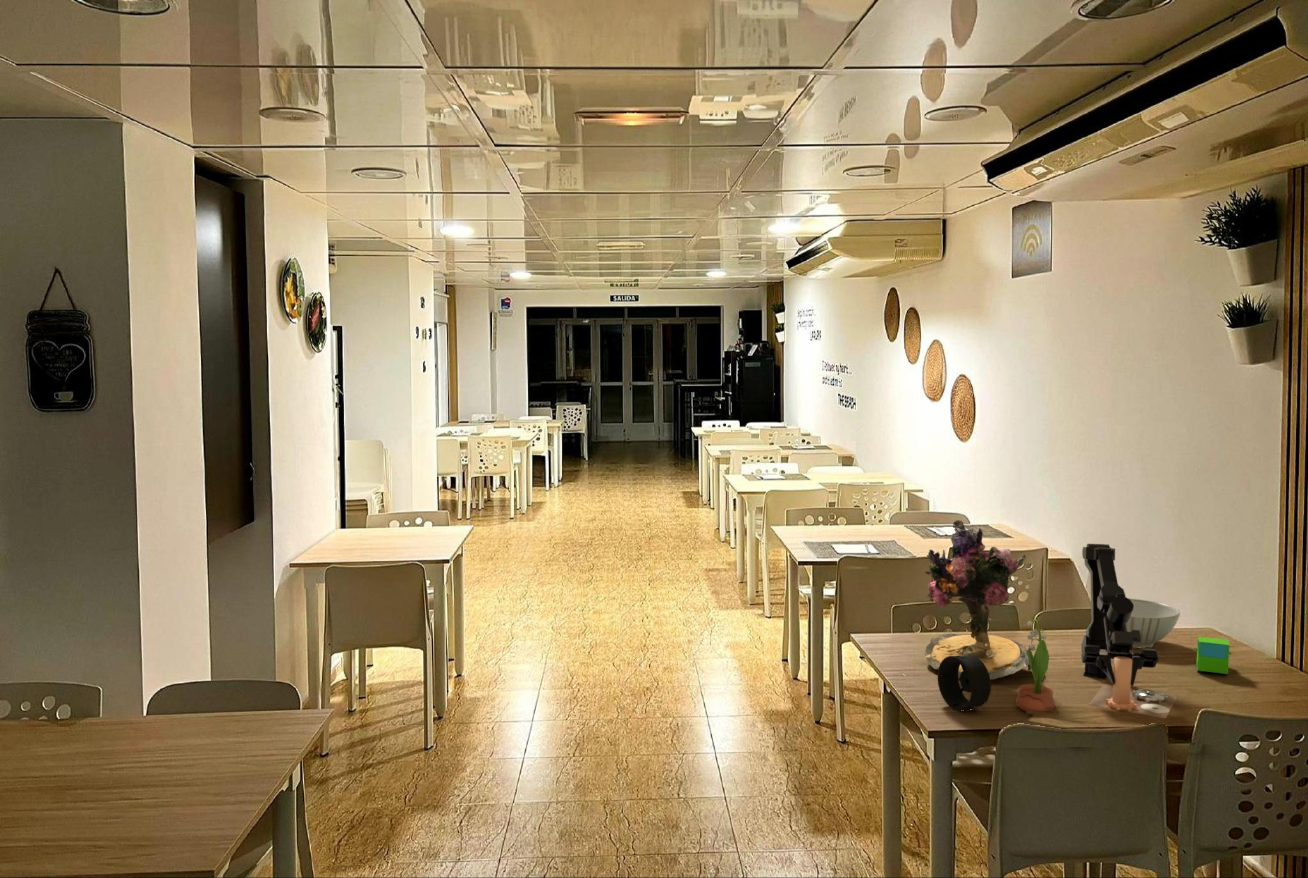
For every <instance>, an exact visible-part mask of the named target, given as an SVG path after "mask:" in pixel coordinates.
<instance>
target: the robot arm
mask: <svg viewBox="0 0 1308 878" xmlns="http://www.w3.org/2000/svg"><path fill="white" fill-rule="evenodd" d="M1081 554H1082V559H1083V560H1084V566H1085V567H1086V569H1087V570H1088V572H1089V573H1090V613H1091V614H1090V615H1091V616H1090V617H1091V618H1090V623H1089V625H1088V626H1087V627H1086V630H1085V634H1084V636H1083V639H1082V642H1081V644H1080V645H1081V662H1082V663H1083V664H1084V672H1083V674H1082V675H1083V676H1085V677H1092V678H1098V679H1103V680H1106V679H1107V678H1108V679H1109V681H1110V683H1111V684H1112V686H1113V685H1114V684H1115V680H1114V668H1113V665H1112V660H1114V657H1118V656H1121V657H1128V658H1131V659H1132V675H1131V687H1133V686H1134V684H1135V680H1136V677H1137V673H1138V670H1142V669H1143V668H1149V669H1152V668H1155V667H1157V663H1158V662H1159V658H1160V656H1159V655H1160V654H1159V652H1158V651H1157V650H1156V649H1155V648H1140V652H1131V651H1132V650H1133V649H1134V648H1133V646H1132V645H1133V644H1134V643H1139V642H1140V641H1141V636H1140V630H1132V631H1131V632H1128V631H1127V623H1128V621H1129V619H1130V616H1131V613H1132V611H1133V608H1134V605H1133V603H1132V602H1131V600H1129V599H1128V598H1129V597H1127V596H1126V592H1125V590H1124V588H1123V587H1121V586H1120V585H1119V583H1118V577H1117V573H1116V567H1115V562H1114V561H1116V548H1114V547H1111V546H1110V544H1108V543H1107V544H1106V543H1105V544H1104V543H1087V544H1086V546H1083V547H1082V553H1081Z"/></svg>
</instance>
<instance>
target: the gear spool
mask: <svg viewBox="0 0 1308 878" xmlns="http://www.w3.org/2000/svg"><path fill="white" fill-rule="evenodd" d="M1113 660H1114V661H1113V674H1114V680H1115V684H1114V685H1113V684H1112V686H1113V695H1112V697H1111V698H1110V699H1106V704H1107V707H1109V708H1111V707H1112V708H1114V709H1113V710H1115V709H1116V711H1120V710H1127V711H1131V710H1132V709H1136V708H1137V704H1135V701H1133V700H1132V701H1130V694H1131V689H1132V686H1131V675H1132V659H1131V658H1128V657H1121V656H1118V657H1114V659H1113ZM1109 708H1108V709H1109Z"/></svg>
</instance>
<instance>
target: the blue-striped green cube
mask: <svg viewBox="0 0 1308 878" xmlns="http://www.w3.org/2000/svg"><path fill="white" fill-rule="evenodd" d="M1230 645H1231V644H1230V640H1229V639H1222V638H1212V637H1205V636H1204V637H1203V636H1197V648H1196V647H1195V648H1193V651H1194V652H1196V669H1197V670H1196V671H1197V673H1202V672H1206V673H1207V672H1209V673H1217V674H1222V676H1227V675H1228V674H1229V664H1230V663H1229V662H1230V661H1229V660H1230V659H1229V658H1230V656H1231V655H1232V652H1230Z"/></svg>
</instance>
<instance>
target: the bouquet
mask: <svg viewBox="0 0 1308 878" xmlns="http://www.w3.org/2000/svg"><path fill="white" fill-rule="evenodd" d="M952 527H953V529H954V530H953V531H954V532H955V533H952V537H951V538H950V541H951V543H952V547H951V553H952V558H946V550H945V549H943V550H942V555H940V552H939V551H937V552H936V553H935V551H934V550H933V549H929V550H928V551H929V552H928V554H927V555H926V558H927V559H928V561H929V562H931V563H932V564H934V566H931V565H929V567H928V568H929V570H928V571H926V570H925V571H924V573H925V574H927V575H928V576H930V577H931V578H932V579H933V580H934V581H931V582H928V583H927V584H928V585H927V586H928V592H927V597H928V598H931V599H932V600H933V601H934V602H935V603H936V604H937V606H938V607H941V608H944V607H947V606H948V605H951V604H952V603H953V601H952V600H951V599H952V598H955V597H956V599H957V600H958V601H960V602H961V603H963V604H964V605H965V606H966V608H967V609H968V613H969V615H970V616H969V617H970V624H969V625H970V630H971V631H970V632H971V633H970V634H965V635H963V634H958V633H957V634H956V633H946V634H945V633H944V634H939V635H937V636H935V637H932V638H931V639H930V640H929V641H930V642H929V643H928V644H927V645H926V646H925V650H924V651H925V652H924V655H925V659H926V661H927V664H928V665H929V666H931V667H932V668H933V669H934V670H938V669H939V666H940V664H941V662H942V660H943V659H945V658H946V657H948V656H965V655H973V656H976V657H977V658H979V659H980V660H981V661H982V662H983V663H984V665H985V666H986V668H987V670H988V673H989V676H990V681H991V680H996V679H998V678H1004V677H1005V676H1009V675H1013V674H1015V673H1017V672H1019V671H1020V670H1022V669H1023V668H1026V667H1027V671H1028V672H1030V671H1031V668H1030V665H1029V660H1028V649H1027V648H1026V646H1025V645H1024V644H1021V643H1020V642H1017V641H1015V640H1013V639H1009V638H1005V637H1002V636H999V635H998V636H997V635H991V634H989V633H988V630H989V629H988V628H989V618H990V617H989V616H990V609H989V606H991V607H999V606H1002V605H1004V604H1005V603H1007V602H1008V600H1009V598H1010V595H1009V592H1008V587H1009V577H1010V576H1012V575H1013V574H1015V573H1016V571H1018V569H1019V567H1022V565H1024V563H1025V561H1026V558H1027V557H1026V555H1025V554H1022V556H1021V557H1020V558H1019V559H1018V558H1013V559H1012V558H1011V557H1012V556H1011V555H1012V554H1013V551H1011V549H1009V548H1007V549H1006V548H1005V547H1003V548H999V549H998V548H997V547H996V546H991V548H990V549H989V551H988V552H986V551H984V550H985V549H986V545H984V543H983V535H984V533H983V532H984V531H983V530H982V528H980V527H979V528H978V531H977V532H975V531H974V528H973V527H971V528H968V529H966V526H965V524H964V521H962V520H960V519H956V520H954V521H953V523H952ZM940 556H941V557H940ZM987 605H988V606H987ZM962 671H963V669H962V666H961V664H960V667H959V672H958V678H959V679H960V675H961V673H962Z"/></svg>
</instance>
